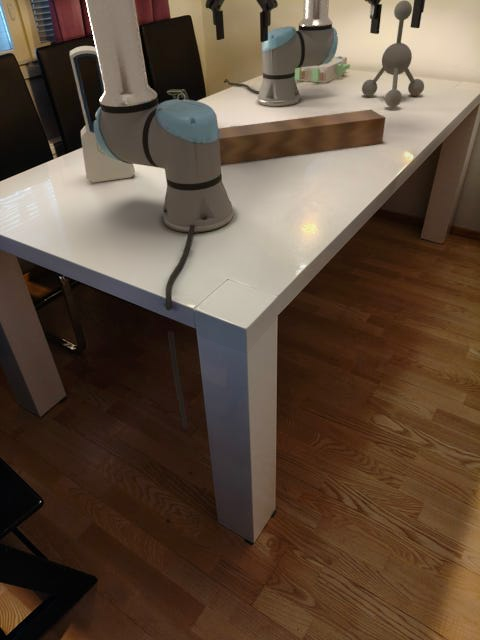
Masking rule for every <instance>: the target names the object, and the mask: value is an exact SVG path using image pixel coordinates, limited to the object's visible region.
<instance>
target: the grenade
mask: <svg viewBox="0 0 480 640" xmlns="http://www.w3.org/2000/svg"><path fill="white" fill-rule="evenodd" d="M166 94H167V95H170V96H172V97H173V98H172V100H176V99H177V100H190V99H189V96H188V93H187V92H186V90H185V89H168V90H167V91H166Z"/></svg>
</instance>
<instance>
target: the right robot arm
mask: <svg viewBox="0 0 480 640" xmlns="http://www.w3.org/2000/svg"><path fill="white" fill-rule="evenodd" d="M364 1H365V2H367V3H368V4H370V10H369V20H370V19H371V20H370V31H369V33H370V34H374V35H380V27H381V18H382V8H383V4H382V3H381V1H382V0H364ZM425 3H426V0H413V5H412V12H411V21H410V28H411V29H420V27H421V21H422V14H423V13H424V10H425ZM329 7H330V0H303V7H302V8H303V11H302V14H303V16H302V19H301V20H300V21H299V23H298V30H297V29H296V27H295V26H280V27H276V28H273V29H270V30H268V40H267V41H265V42H261V56H262V58H261V62H262V65H261V66H262V81H261V86H260V87H259V90H256V89H253V88H251V87H250V86H249V85H248V84H246V83H238V82H237V83H236V82H230V81H229V79H227V78H225V79H223V83H225V84H226V83H227V84H228V85H230V86H235V87H243V88H246V89H247V90H248V91H250V92H252V93H254V94H258V96H257V103H258V104H259V105H262V106H266V107H288V106H293V105H296V104H298V103H299V102H300V92H299V88H298V84H297V80H295V68H301V67H309V66H320V65H323V64H327V63H329V62H330V61H331V60H332V59H333V58H334V57H336V53H337V50H338V45H339V36H338V31H337V30H336V28H335V27H333V21H332V20H331V19H330V17H329Z"/></svg>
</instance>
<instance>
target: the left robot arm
mask: <svg viewBox="0 0 480 640" xmlns="http://www.w3.org/2000/svg"><path fill="white" fill-rule="evenodd" d="M224 2H225V0H206V1H205V5H204V6H205V8H206V9H209V10H211V12H212V23H213V26H215V34H216V41H221V40H224V39H225V26H224V10H222V6H223V4H224ZM256 2H257V4H258V5H259V7H260V9H261V11H260V12H259V29H260V30H259V32H260V33H259V34H260V36H259V40H260V41H259V43H262V42H265V41H267V40H268V31H269V27H270V26H271V24H272V23H271V22H272V19H271V17H272V16H271V15H272V14H271V13H272V10H274V9H276V8H278V7H279V4H278V0H256ZM85 3H86V8H87V13H88V17H89V22H90V26H91V27H90V28H91V31H92V35H93V36H92V37H93V41H94V45H95V46H94V47H96V50H97V58H98V63H99V64H100V65H99V68H100V69H101V70H100V73H101V74H102V75H101V78H103V80H102V83H104V84H103V88H105V89H104V93H103V92H102V95H101V96H100V98H99V106H100V107H98V109H97V110H96V112H95V115H94V117H95V120H93V123H94V133H95V137H96V140H97V142H98V144H99V146H100V148H101V149H102V151H103V152H104V153H105V154H106V155H107V156H109V157H110V158H112V159H114V160H118V161H122V162H124V163H127V164H133V165H139V166H146V167H153V168H160V169H164V174H165V180H166V190H165V191H166V192H165V196H164V203H163V207H162V218H163V222H164V224H165V226H167V227H168V228H169V229H171V230H173V231H177V232H180V233H188V234H187V238H186V242H185V246H184V249H183V252H182V255H181V257H180V259H179V261H178V263H177V265H176V266H175V268H174V269H173V270H172V272H171V273H170V275H169V277H168V279H167V283H166V285H165V309H166V311H171V310H172V308H173V305H172V303H173V301H172V288H173V287H172V286H173V284H174V280H175V279H176V276H178V274H179V272H180V271H181V270H182V268H183V266H184V264H185V263H186V259H187V257H188V254H189V251H190V248H191V245H192V240H193V236H194V234H195V233H196V234H197V233H205V232H206V233H207V232H210V231H215V230H216V229H220V228H222V227H224V226H226V225H227V224H228V223H230V221H231V220H232V218H233V216H234V212H233V211H234V210H233V205H232V201H231V200H230V197H229V195H228V192H227V190H226V187H225V184H224V182H223V175H222V174H223V173H222V165H221V159H220V143H219V135H220V132H219V128H220V127H219V123H218V116H217V113H216V112H215V110H214V109H213V108H212V106H210V105H208V104H206V103H204V102H202V101H198V100H193V99H189V100H186V99H185V100H177V99H176V100H173V99H169V100H165V101H162V102H160V103H159V98H158V93H157V92H156V90H154V89H153V88H151V86H150V85H149V82H148V77H147V69H146V65H145V64H146V63H145V58H144V53H143V52H144V51H143V46H142V45H143V44H142V39H141V34H140V27H139V21H138V15H137V8H136V3H135V0H85ZM167 337H168V344H169V345H168V347H169V353H170V360H171V368H172V374H173V379H174V385H175V390H176V395H177V400H178V407H179V411H180V417H181V422H182V428H183V429H184V430H187V429H188V428H189V425H188V417H187V413H186V408H185V407H186V406H185V401H184V396H183V390H182V385H181V379H180V373H179V367H178V358H177V352H176V344H175V333H174V331H171V330H167Z"/></svg>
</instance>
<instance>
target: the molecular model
mask: <svg viewBox="0 0 480 640" xmlns="http://www.w3.org/2000/svg"><path fill="white" fill-rule="evenodd" d="M393 10H394V11H393V14H394V18H395V19H396V20H398V28H397V34H396V35H397V36H396V42H395V43H391V45H389V46H387V48H386V49H385V50H384V52H383V53H382V57H381V66H382V67H381V68H380V70H379V71H378V72H377V73H376V75H375V76H374V79H367V80H366V81H364V82H363V83H362V86H361V92H362V93H363V95H364V96H366V97H372V96H373V95H375V94H376V93H377V91H378V83H377V82H378V81H379V79H380V78H381V76H382V75H383V74H384V72H386V73H387V74H389V75H391V76H393V77H392V87H391V90H388V91H387V92H386V94H385V97H384V102H385V104H386V105H387V107H390V108H396V107H398V106H399V105H400V104H401V102H402V100H403V95H402V92H401V91H400V90H399V89H398V81H399V75H401V74H404V73H405V75H406V77H407V78H408V81H409V83H408V88H407V89H408V90H407V91H408V93H409V94H410V95H411V96H413V97H415V96H419V95H421V94H422V93H423V91H424V89H425V83H424V81H423V80H422V79H420V78H414V76H413V74H412V73H411V71H410V69H409V67H410V65H411V63H412V59H413V54H412V51H411V49H410V47H409V46H408V45H407V44H405V43H403V42H402V37H403V31H404V23H405V20H407V19H409V18H410V16H411V15H412V12H413V5H412V4H411V2H410V1H408V0H401V1H399V2H398V3H396V5H395V7H394V9H393Z"/></svg>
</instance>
